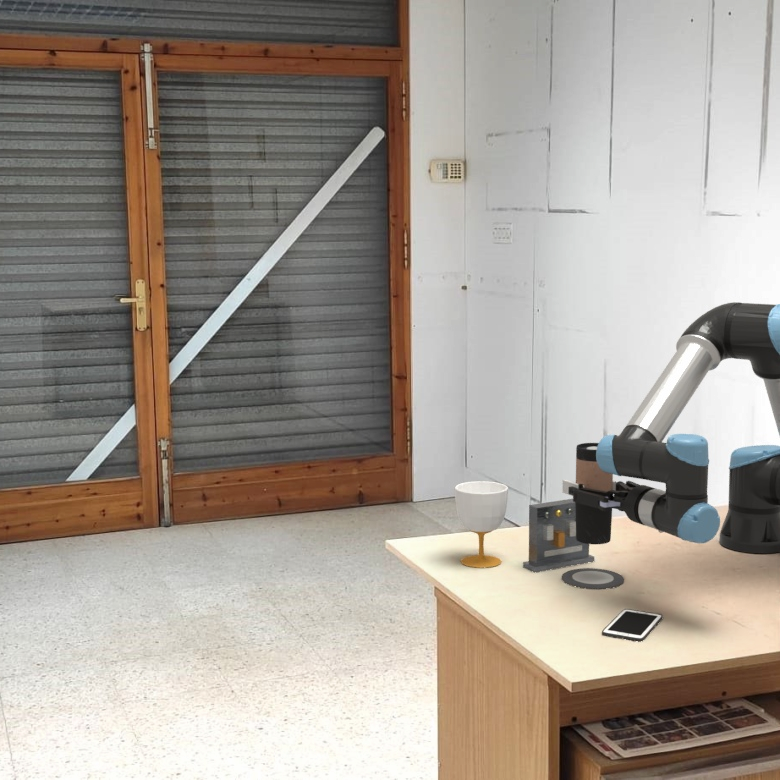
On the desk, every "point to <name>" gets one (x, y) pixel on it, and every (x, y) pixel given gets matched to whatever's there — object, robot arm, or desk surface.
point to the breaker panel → (554, 537)
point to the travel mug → (591, 520)
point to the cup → (481, 514)
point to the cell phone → (632, 625)
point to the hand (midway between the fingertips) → (579, 483)
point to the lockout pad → (592, 578)
